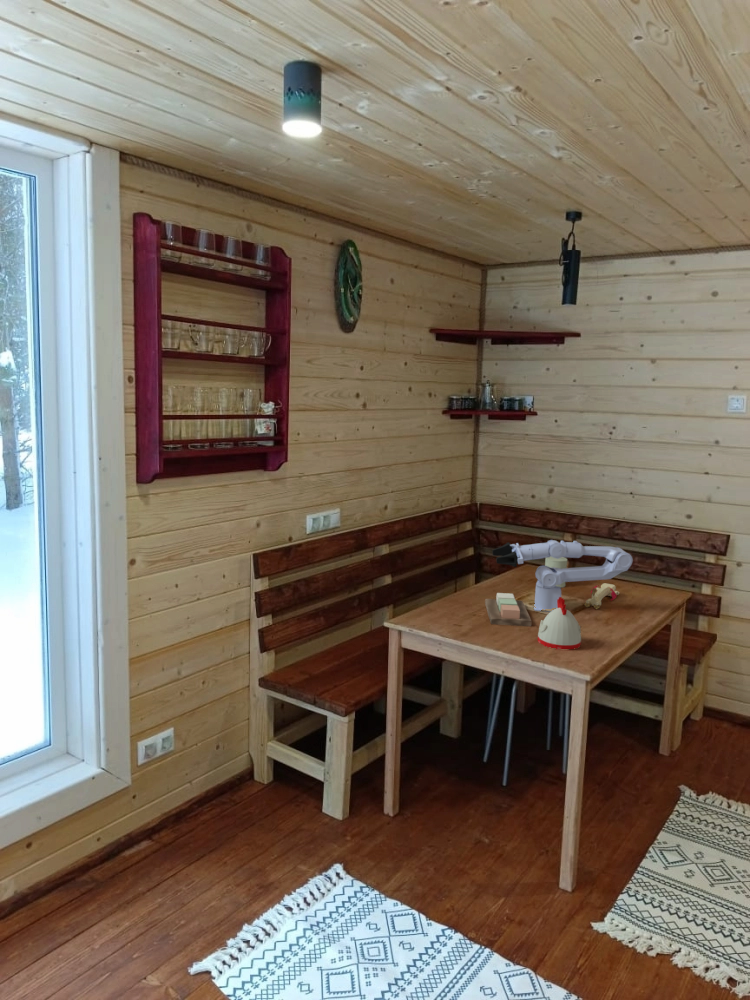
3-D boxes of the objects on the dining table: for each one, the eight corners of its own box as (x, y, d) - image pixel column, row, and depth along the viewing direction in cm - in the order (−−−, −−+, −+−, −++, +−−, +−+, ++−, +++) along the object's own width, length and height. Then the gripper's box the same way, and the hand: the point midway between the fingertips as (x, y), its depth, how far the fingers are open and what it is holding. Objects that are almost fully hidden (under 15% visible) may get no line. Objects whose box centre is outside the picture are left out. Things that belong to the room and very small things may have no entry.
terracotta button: (517, 614, 271) (517, 605, 271) (519, 620, 265) (520, 610, 265) (500, 613, 272) (501, 604, 271) (502, 619, 266) (502, 609, 265)
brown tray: (521, 605, 288) (522, 600, 287) (531, 626, 264) (531, 620, 264) (485, 603, 288) (485, 598, 288) (490, 624, 265) (491, 618, 264)
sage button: (514, 608, 279) (515, 599, 278) (516, 613, 273) (517, 604, 272) (498, 607, 279) (498, 598, 278) (499, 612, 273) (500, 603, 272)
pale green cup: (567, 588, 315) (570, 560, 313) (545, 587, 314) (548, 559, 313) (562, 582, 324) (564, 555, 322) (540, 581, 324) (543, 554, 322)
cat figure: (604, 614, 286) (622, 594, 306) (605, 592, 284) (624, 573, 304) (578, 608, 291) (598, 589, 312) (579, 587, 289) (599, 569, 310)
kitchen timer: (573, 635, 256) (577, 593, 253) (586, 650, 242) (590, 605, 240) (533, 635, 255) (536, 592, 253) (543, 649, 242) (547, 604, 239)
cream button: (512, 602, 286) (512, 593, 285) (514, 607, 280) (514, 598, 280) (496, 601, 286) (496, 592, 286) (497, 606, 280) (498, 597, 280)
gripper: (525, 535, 287) (490, 539, 287) (534, 549, 273) (497, 554, 273) (526, 552, 289) (491, 556, 289) (535, 567, 275) (499, 571, 275)
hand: (494, 556), depth 281 cm, fingers open, 7 cm apart
